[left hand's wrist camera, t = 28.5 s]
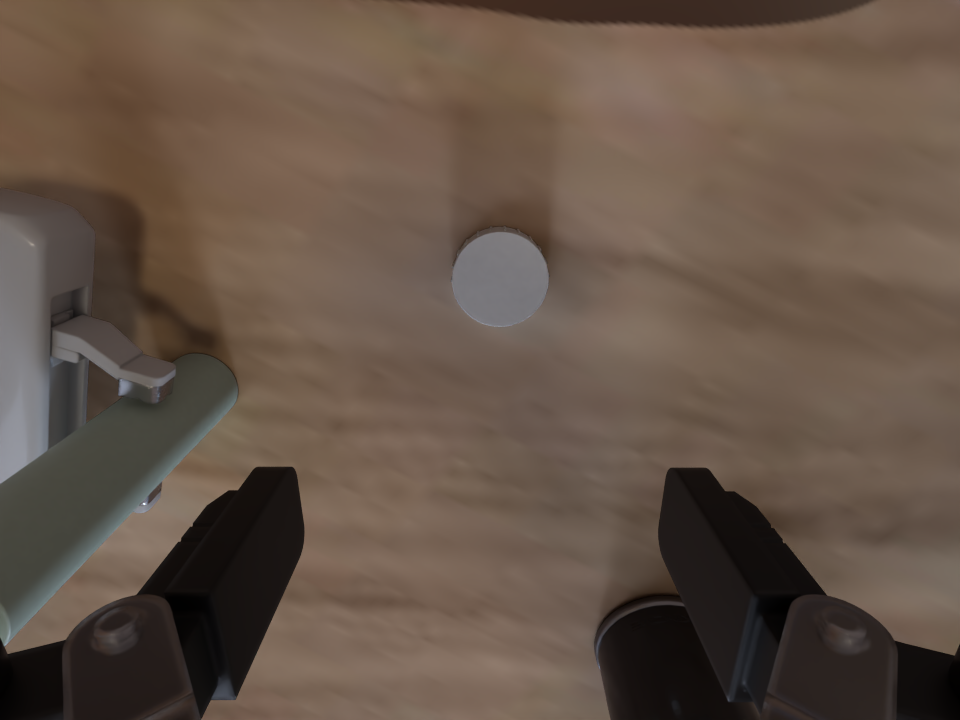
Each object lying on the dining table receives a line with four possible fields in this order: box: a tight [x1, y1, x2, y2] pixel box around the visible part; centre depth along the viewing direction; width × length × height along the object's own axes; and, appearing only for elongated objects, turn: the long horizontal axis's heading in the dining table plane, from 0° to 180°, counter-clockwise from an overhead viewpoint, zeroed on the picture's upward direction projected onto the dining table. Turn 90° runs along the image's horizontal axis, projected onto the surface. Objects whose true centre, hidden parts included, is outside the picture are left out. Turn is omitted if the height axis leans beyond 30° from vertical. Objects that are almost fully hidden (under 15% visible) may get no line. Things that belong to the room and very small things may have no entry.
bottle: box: [0, 353, 238, 647], centre depth 24 cm, size 4×4×18 cm
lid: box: [451, 226, 549, 326], centre depth 29 cm, size 5×5×2 cm
